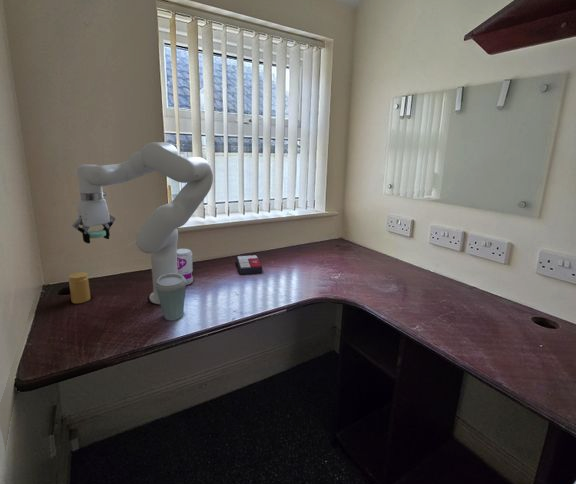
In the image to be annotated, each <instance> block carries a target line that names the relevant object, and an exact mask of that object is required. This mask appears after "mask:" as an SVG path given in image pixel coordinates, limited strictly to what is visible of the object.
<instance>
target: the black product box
mask: <svg viewBox="0 0 576 484" xmlns="http://www.w3.org/2000/svg"><path fill="white" fill-rule="evenodd" d="M236 266H237V268H238V271H239V272H238V273H239V275H249V274H263V266H262V264H261V262H260V260H259V257H258V255H256V254H254V255H238V256H236Z"/></svg>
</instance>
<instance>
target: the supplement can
mask: <svg viewBox="0 0 576 484" xmlns="http://www.w3.org/2000/svg"><path fill="white" fill-rule="evenodd" d="M177 269H178V274H181V275H182V276H184V278H186V286H189V285H190V284H192V283H193V281H194V270H193V269H194V267H193V252H192V250H191V249H189V248H183V247H181V248H177Z"/></svg>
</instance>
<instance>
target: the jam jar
mask: <svg viewBox="0 0 576 484" xmlns="http://www.w3.org/2000/svg"><path fill="white" fill-rule="evenodd" d="M67 281H68V287H69V295H70V301H71V303H72V304H83V303H86V302H88V301H90V300H91V299H92V298H91V297H92V296H91V289H90V280H89V276H88V273H87V272H86V271H78V272H73V273H71V274H69V275H68V280H67Z"/></svg>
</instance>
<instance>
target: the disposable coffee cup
mask: <svg viewBox="0 0 576 484" xmlns="http://www.w3.org/2000/svg"><path fill="white" fill-rule="evenodd" d="M186 287H187V285H186V278H184V276H182V275H181V274H178V273H168V274H164V275H161V276H160V277H159V278H157V281H156V282H155V288H156V290H157V293H158V297H159V301H160V304H159V305H160V308H161V310H162V316H163V317H164V319H165V320H167V321H177V320H179V319H181V318H182V317H183V314H184V309H185V299H186Z"/></svg>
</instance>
